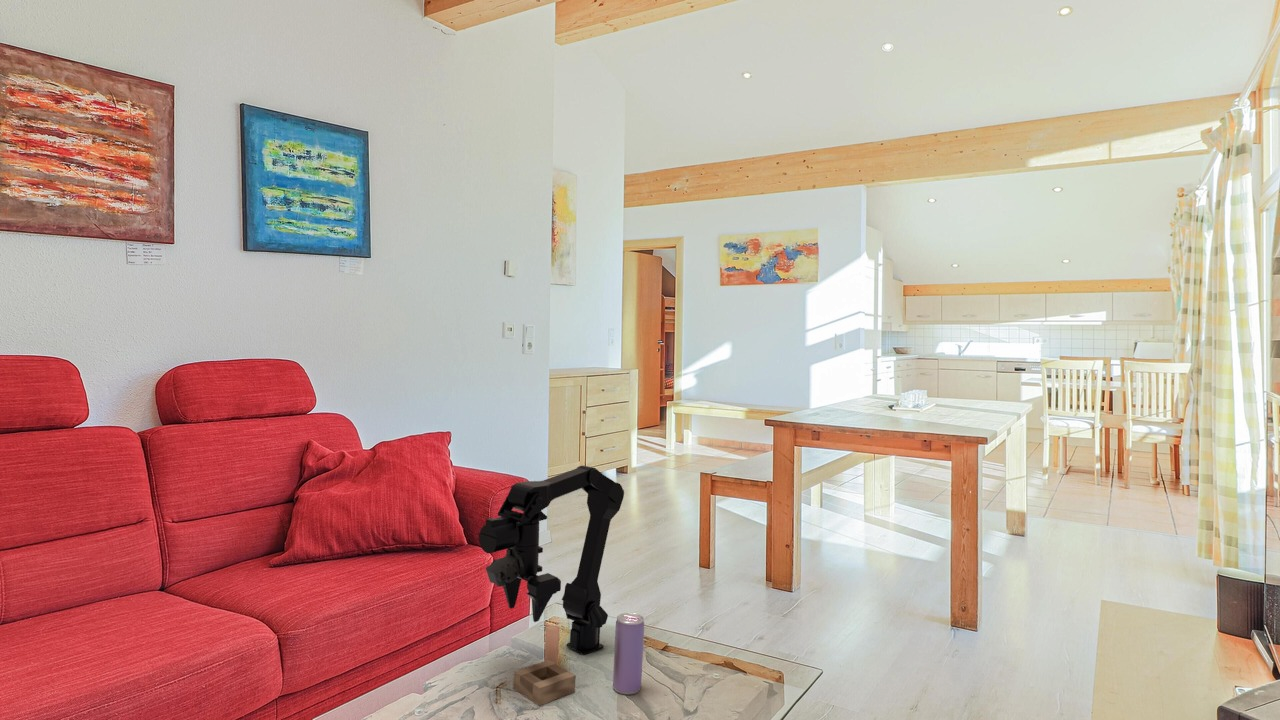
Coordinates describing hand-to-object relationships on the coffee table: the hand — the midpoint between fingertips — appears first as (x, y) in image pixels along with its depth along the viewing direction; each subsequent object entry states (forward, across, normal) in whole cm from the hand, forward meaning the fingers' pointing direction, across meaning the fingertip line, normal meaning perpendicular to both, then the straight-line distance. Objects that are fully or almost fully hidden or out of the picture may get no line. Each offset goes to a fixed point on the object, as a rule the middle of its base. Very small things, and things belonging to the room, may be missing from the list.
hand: (523, 614), depth 155 cm
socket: (+13, +9, -1) cm, 16 cm away
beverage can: (+13, +19, +13) cm, 27 cm away
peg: (+13, +2, +6) cm, 15 cm away
